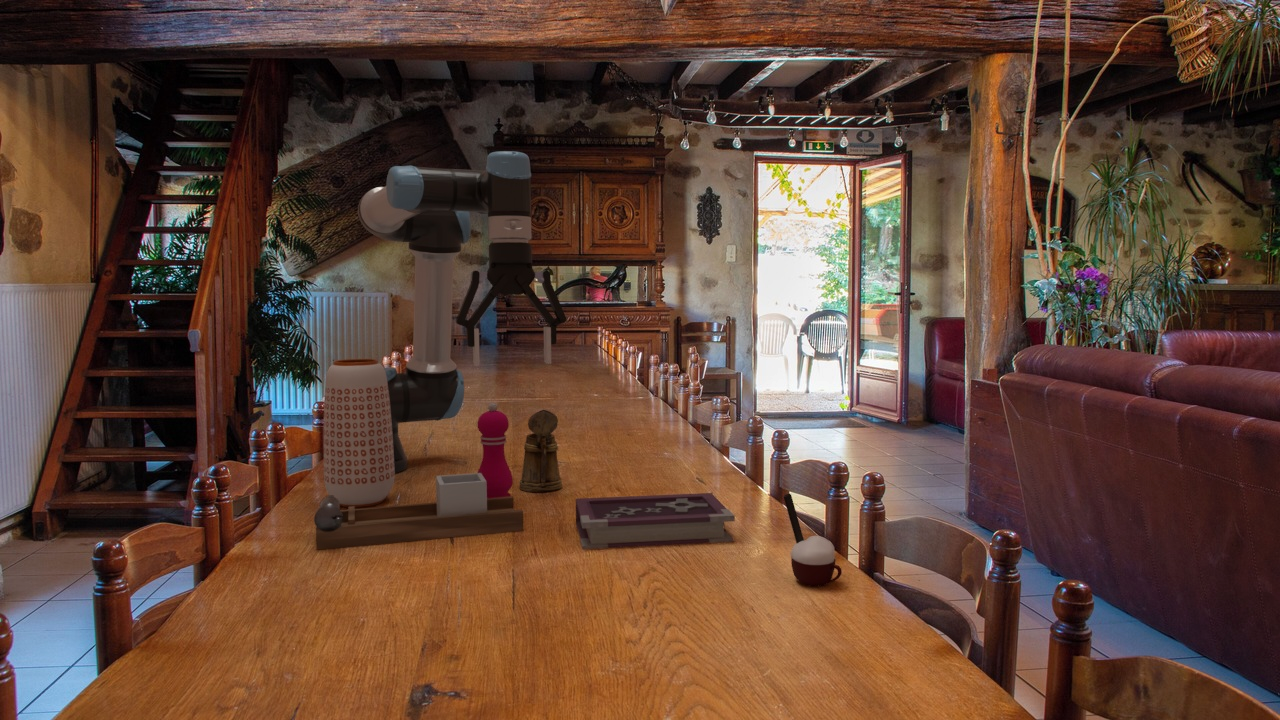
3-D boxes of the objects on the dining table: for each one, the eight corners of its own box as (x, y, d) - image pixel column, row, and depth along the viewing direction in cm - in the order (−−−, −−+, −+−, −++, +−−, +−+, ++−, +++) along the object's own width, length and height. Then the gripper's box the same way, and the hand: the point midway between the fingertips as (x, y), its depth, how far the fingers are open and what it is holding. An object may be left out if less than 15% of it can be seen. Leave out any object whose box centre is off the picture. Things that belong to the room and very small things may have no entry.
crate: (436, 514, 156) (435, 476, 155) (481, 510, 159) (480, 472, 158) (440, 524, 149) (439, 484, 149) (487, 520, 152) (486, 481, 151)
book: (582, 552, 141) (582, 522, 141) (575, 525, 157) (574, 498, 157) (734, 544, 145) (734, 515, 144) (712, 518, 161) (712, 492, 160)
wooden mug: (522, 499, 174) (520, 410, 172) (518, 483, 187) (516, 401, 185) (566, 497, 176) (565, 408, 174) (559, 481, 189) (558, 399, 187)
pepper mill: (505, 509, 166) (503, 406, 164) (470, 507, 168) (467, 405, 166) (518, 500, 173) (516, 400, 171) (484, 498, 175) (482, 399, 173)
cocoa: (847, 591, 123) (853, 509, 122) (809, 596, 121) (816, 512, 119) (809, 568, 132) (815, 491, 130) (774, 572, 129) (779, 493, 128)
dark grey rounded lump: (317, 524, 151) (316, 492, 150) (344, 522, 152) (343, 490, 152) (314, 545, 139) (313, 510, 139) (343, 542, 140) (342, 508, 140)
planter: (384, 510, 165) (380, 363, 163) (314, 511, 165) (308, 364, 163) (403, 493, 179) (399, 357, 176) (338, 494, 179) (333, 357, 176)
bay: (319, 531, 152) (318, 507, 152) (512, 514, 162) (512, 492, 162) (316, 549, 142) (315, 524, 141) (523, 530, 152) (523, 506, 152)
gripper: (441, 240, 145) (445, 368, 147) (582, 241, 153) (583, 363, 155) (437, 242, 153) (441, 364, 154) (572, 243, 160) (574, 360, 162)
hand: (512, 364), depth 154 cm, fingers open, 12 cm apart
